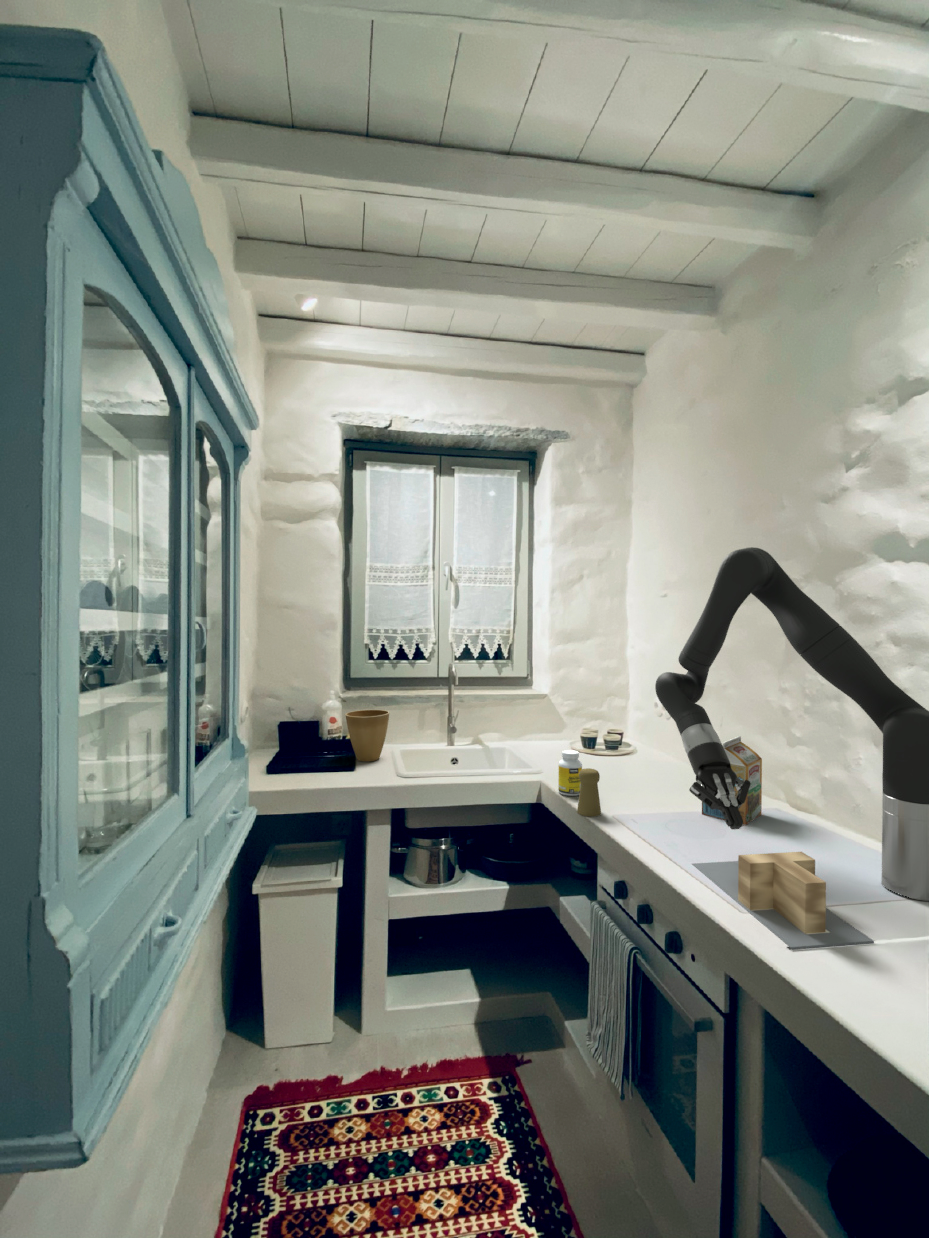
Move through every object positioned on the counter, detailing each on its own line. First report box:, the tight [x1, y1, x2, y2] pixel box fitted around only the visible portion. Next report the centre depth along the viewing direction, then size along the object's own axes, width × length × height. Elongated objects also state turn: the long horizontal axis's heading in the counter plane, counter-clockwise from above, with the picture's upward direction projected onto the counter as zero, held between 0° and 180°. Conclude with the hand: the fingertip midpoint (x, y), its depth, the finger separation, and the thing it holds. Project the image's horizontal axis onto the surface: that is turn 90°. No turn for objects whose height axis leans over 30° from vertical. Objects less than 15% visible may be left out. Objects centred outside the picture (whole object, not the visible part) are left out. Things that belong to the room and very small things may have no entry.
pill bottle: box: [558, 749, 583, 797], centre depth 168 cm, size 6×6×12 cm
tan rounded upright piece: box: [576, 767, 602, 818], centre depth 152 cm, size 6×6×11 cm
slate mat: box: [691, 860, 875, 951], centre depth 107 cm, size 14×30×1 cm, turn 7°
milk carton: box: [701, 735, 763, 826], centre depth 151 cm, size 11×11×19 cm
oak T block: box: [737, 851, 827, 934], centre depth 101 cm, size 12×12×8 cm
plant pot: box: [345, 709, 390, 763], centre depth 206 cm, size 15×15×16 cm
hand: (737, 827), depth 117 cm, fingers closed
